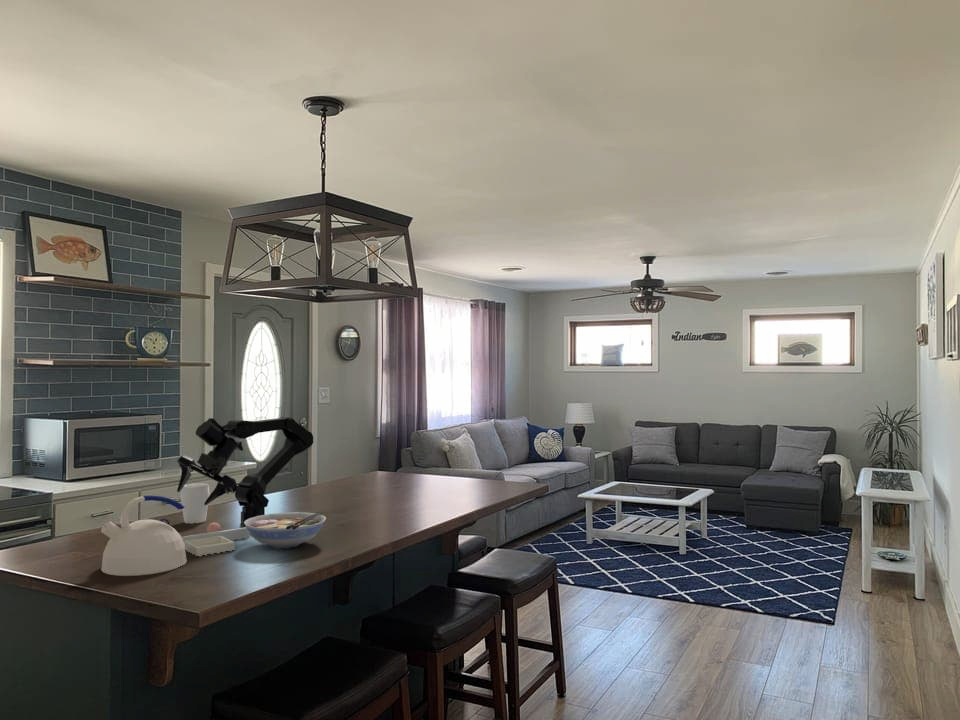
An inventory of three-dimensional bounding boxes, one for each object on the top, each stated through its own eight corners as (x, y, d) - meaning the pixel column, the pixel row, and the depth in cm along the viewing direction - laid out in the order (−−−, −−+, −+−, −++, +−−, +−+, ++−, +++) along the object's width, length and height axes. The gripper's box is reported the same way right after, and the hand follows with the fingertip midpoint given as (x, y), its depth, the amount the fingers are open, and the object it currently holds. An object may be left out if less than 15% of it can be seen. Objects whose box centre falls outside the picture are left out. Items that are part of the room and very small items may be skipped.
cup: (174, 523, 247) (174, 486, 248) (196, 518, 255) (196, 482, 256) (193, 525, 243) (193, 488, 243) (215, 520, 251) (215, 484, 251)
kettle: (88, 566, 195) (88, 496, 195) (168, 552, 209) (168, 486, 209) (116, 582, 180) (116, 506, 180) (200, 565, 195) (200, 495, 195)
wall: (247, 537, 226) (247, 527, 226) (248, 537, 225) (248, 527, 225) (178, 547, 213) (178, 537, 213) (180, 548, 213) (180, 537, 213)
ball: (217, 533, 231) (217, 520, 231) (222, 536, 228) (222, 522, 228) (204, 535, 228) (204, 522, 228) (209, 538, 225) (209, 524, 225)
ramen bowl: (267, 534, 229) (266, 507, 229) (339, 537, 226) (339, 509, 226) (226, 555, 205) (226, 524, 205) (306, 558, 201) (306, 527, 201)
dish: (220, 543, 218) (220, 535, 218) (234, 550, 210) (234, 541, 210) (183, 549, 211) (183, 541, 211) (196, 556, 203) (196, 547, 203)
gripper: (189, 431, 227) (157, 475, 219) (244, 457, 226) (214, 502, 218) (196, 446, 237) (166, 488, 229) (248, 471, 235) (220, 514, 227)
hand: (191, 498), depth 225 cm, fingers open, 9 cm apart
